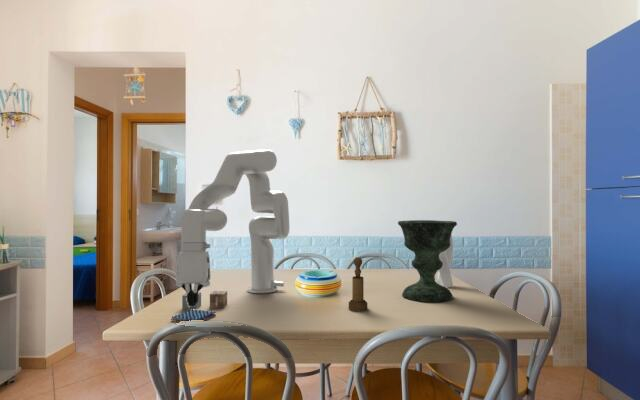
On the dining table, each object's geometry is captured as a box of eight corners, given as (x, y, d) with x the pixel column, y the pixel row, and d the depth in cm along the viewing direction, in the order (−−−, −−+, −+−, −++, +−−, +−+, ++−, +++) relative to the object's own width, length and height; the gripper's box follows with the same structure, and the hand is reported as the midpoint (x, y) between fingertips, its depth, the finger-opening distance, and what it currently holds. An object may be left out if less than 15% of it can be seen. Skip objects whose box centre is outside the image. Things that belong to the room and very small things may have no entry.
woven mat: (191, 314, 129) (191, 308, 129) (217, 317, 125) (217, 311, 125) (168, 323, 119) (168, 316, 119) (196, 326, 115) (196, 320, 115)
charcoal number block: (201, 306, 137) (201, 291, 138) (196, 310, 132) (196, 295, 132) (187, 306, 138) (187, 291, 138) (182, 310, 132) (182, 295, 132)
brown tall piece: (355, 312, 128) (354, 259, 129) (345, 308, 134) (344, 257, 134) (371, 310, 131) (370, 258, 132) (360, 305, 137) (360, 255, 137)
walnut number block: (227, 304, 139) (227, 290, 140) (223, 308, 134) (223, 293, 134) (213, 304, 139) (213, 290, 140) (209, 308, 134) (209, 293, 134)
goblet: (402, 289, 164) (401, 219, 164) (457, 293, 156) (457, 220, 157) (393, 301, 143) (393, 222, 144) (457, 306, 136) (456, 222, 136)
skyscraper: (443, 284, 175) (442, 223, 176) (457, 287, 168) (457, 224, 169) (430, 286, 171) (429, 224, 171) (444, 289, 164) (443, 225, 164)
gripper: (219, 246, 126) (218, 302, 125) (174, 246, 126) (173, 302, 125) (213, 248, 118) (212, 308, 118) (165, 248, 118) (164, 307, 118)
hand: (192, 304), depth 122 cm, fingers closed
